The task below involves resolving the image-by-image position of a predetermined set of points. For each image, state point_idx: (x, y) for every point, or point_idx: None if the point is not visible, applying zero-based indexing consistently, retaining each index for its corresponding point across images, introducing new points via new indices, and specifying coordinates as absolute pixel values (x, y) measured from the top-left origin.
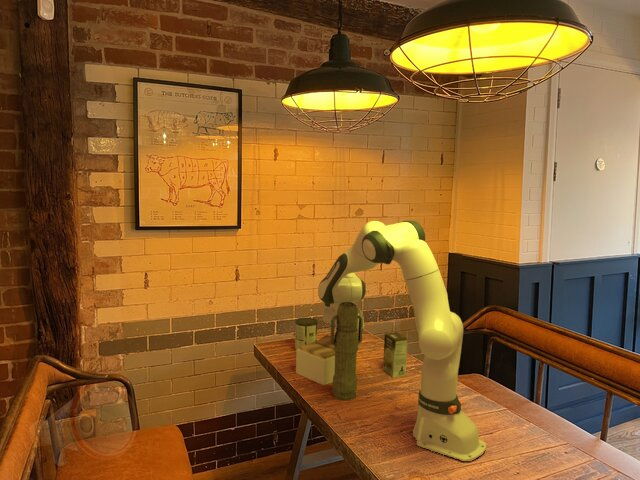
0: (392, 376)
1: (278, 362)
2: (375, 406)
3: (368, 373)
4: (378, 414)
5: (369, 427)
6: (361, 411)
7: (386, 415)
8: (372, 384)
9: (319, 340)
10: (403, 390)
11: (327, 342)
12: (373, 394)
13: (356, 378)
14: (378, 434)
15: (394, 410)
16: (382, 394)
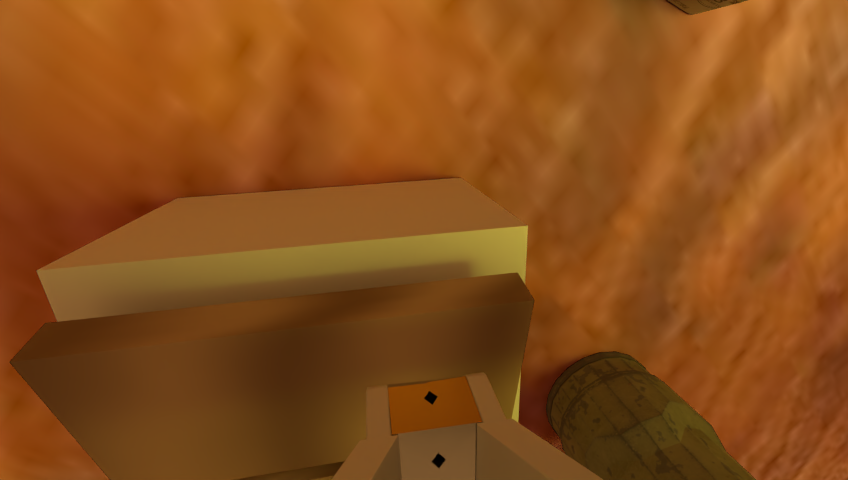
0: (690, 11)
1: (14, 454)
2: (748, 358)
3: (530, 97)
4: (781, 389)
5: (786, 461)
6: (721, 422)
7: (808, 372)
8: (636, 209)
9: (130, 466)
10: (802, 128)
11: (258, 436)
12: (695, 290)
13: (717, 436)
14: (823, 463)
15: (823, 322)
16: (729, 255)
